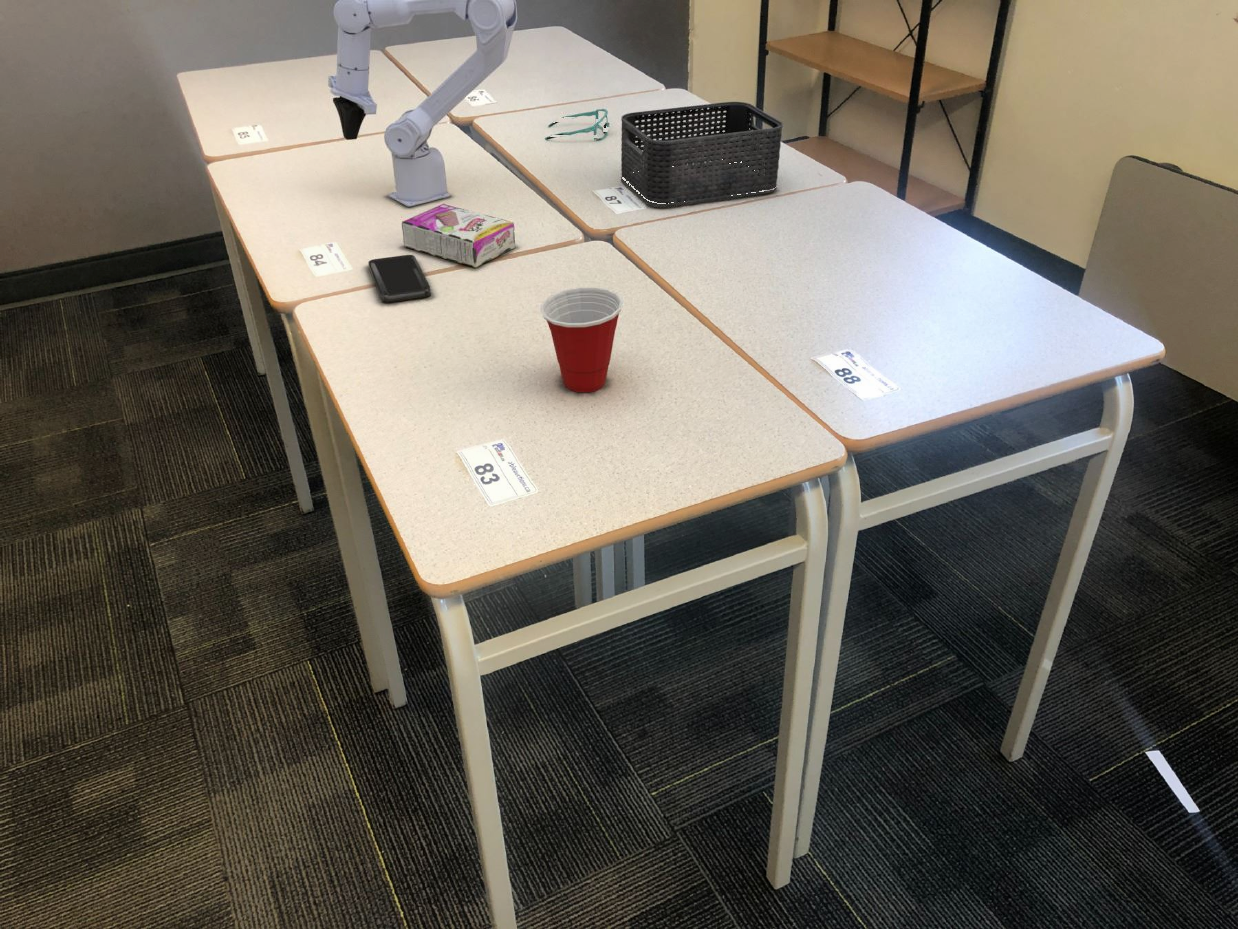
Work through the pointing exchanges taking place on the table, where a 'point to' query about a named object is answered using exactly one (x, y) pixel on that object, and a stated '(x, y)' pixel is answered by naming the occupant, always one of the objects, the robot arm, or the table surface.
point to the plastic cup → (583, 334)
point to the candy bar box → (459, 235)
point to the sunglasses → (586, 130)
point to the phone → (399, 278)
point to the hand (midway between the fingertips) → (350, 138)
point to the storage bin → (700, 154)
